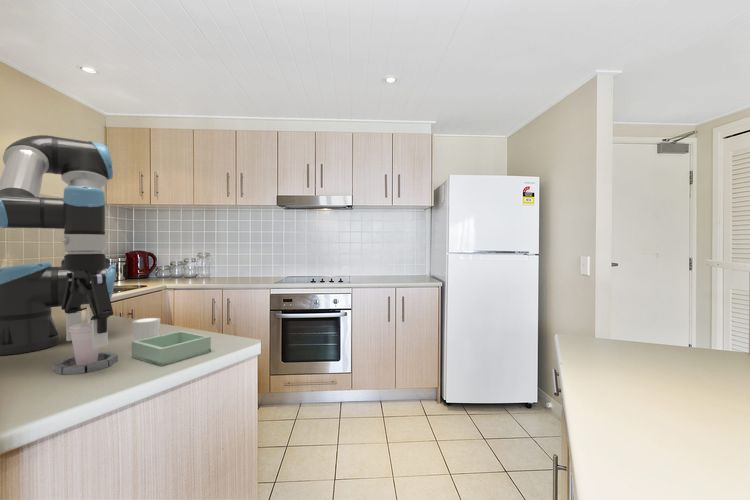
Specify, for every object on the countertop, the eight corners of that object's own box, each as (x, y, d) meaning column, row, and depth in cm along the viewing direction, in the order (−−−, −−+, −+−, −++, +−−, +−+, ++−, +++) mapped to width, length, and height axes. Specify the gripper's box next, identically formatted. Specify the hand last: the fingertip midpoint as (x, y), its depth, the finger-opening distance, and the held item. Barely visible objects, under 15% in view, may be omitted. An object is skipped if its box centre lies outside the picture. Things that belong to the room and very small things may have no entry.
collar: (47, 368, 81) (47, 362, 81) (102, 355, 90) (102, 349, 90) (67, 377, 75) (67, 370, 75) (124, 362, 85) (124, 356, 85)
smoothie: (110, 361, 86) (110, 304, 85) (86, 371, 79) (86, 309, 79) (86, 360, 86) (86, 304, 86) (61, 370, 80) (60, 308, 80)
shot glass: (150, 347, 97) (150, 322, 97) (126, 347, 98) (126, 322, 97) (166, 340, 104) (165, 317, 104) (143, 340, 104) (143, 317, 104)
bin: (131, 357, 89) (131, 341, 89) (181, 344, 100) (181, 330, 100) (160, 366, 82) (160, 349, 82) (210, 351, 94) (210, 336, 94)
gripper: (43, 252, 85) (44, 340, 85) (90, 253, 73) (92, 355, 73) (81, 252, 92) (82, 333, 92) (130, 253, 79) (131, 346, 80)
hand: (86, 343), depth 83 cm, fingers open, 13 cm apart
